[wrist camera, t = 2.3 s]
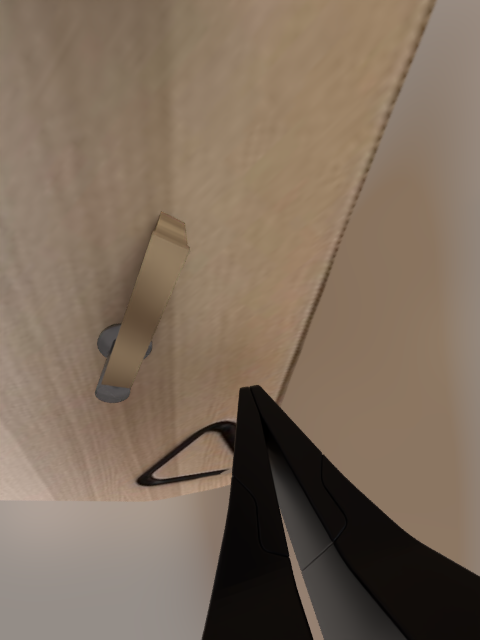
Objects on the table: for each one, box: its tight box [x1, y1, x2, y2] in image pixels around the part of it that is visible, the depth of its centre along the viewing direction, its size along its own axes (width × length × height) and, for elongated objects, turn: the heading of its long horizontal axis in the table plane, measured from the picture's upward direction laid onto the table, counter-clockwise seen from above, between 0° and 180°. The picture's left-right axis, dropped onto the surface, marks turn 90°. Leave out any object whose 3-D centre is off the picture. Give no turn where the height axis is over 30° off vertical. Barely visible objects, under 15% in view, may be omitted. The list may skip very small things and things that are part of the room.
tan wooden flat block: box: [101, 211, 190, 389], centre depth 15 cm, size 10×2×6 cm, turn 151°
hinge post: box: [95, 324, 152, 403], centre depth 18 cm, size 4×4×6 cm
